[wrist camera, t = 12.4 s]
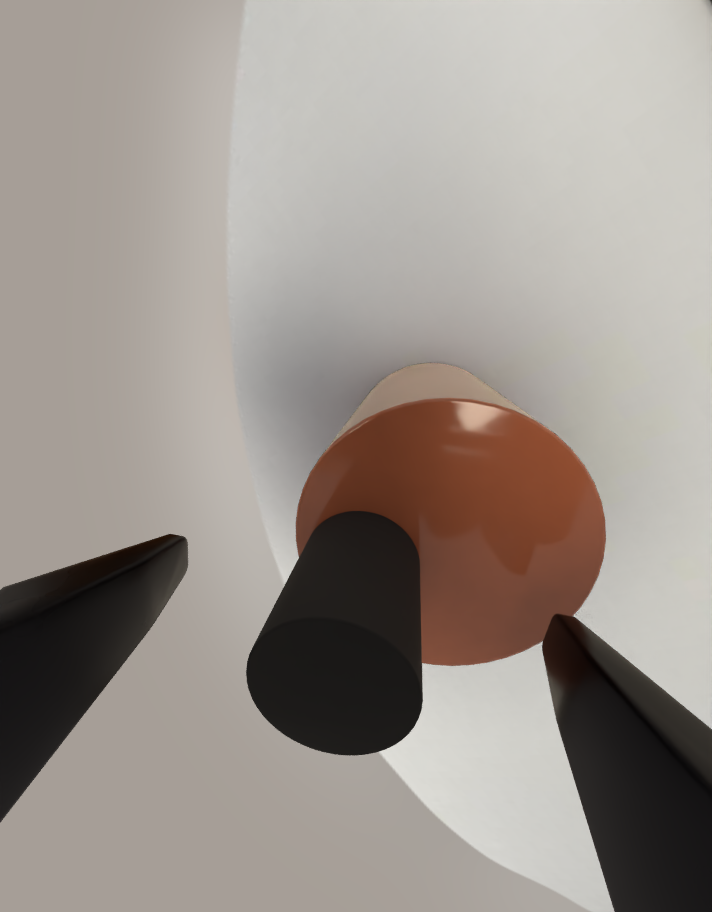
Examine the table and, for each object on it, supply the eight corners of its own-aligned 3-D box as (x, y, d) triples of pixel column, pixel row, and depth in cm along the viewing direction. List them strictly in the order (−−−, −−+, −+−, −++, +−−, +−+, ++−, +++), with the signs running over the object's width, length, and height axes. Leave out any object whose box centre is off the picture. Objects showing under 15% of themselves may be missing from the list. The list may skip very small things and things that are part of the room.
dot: (290, 521, 10) (219, 630, 7) (403, 499, 10) (396, 607, 6) (325, 616, 11) (279, 759, 7) (431, 601, 10) (441, 753, 7)
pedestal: (337, 386, 20) (253, 442, 10) (490, 342, 18) (587, 356, 8) (376, 517, 22) (342, 678, 12) (517, 490, 20) (621, 652, 10)
